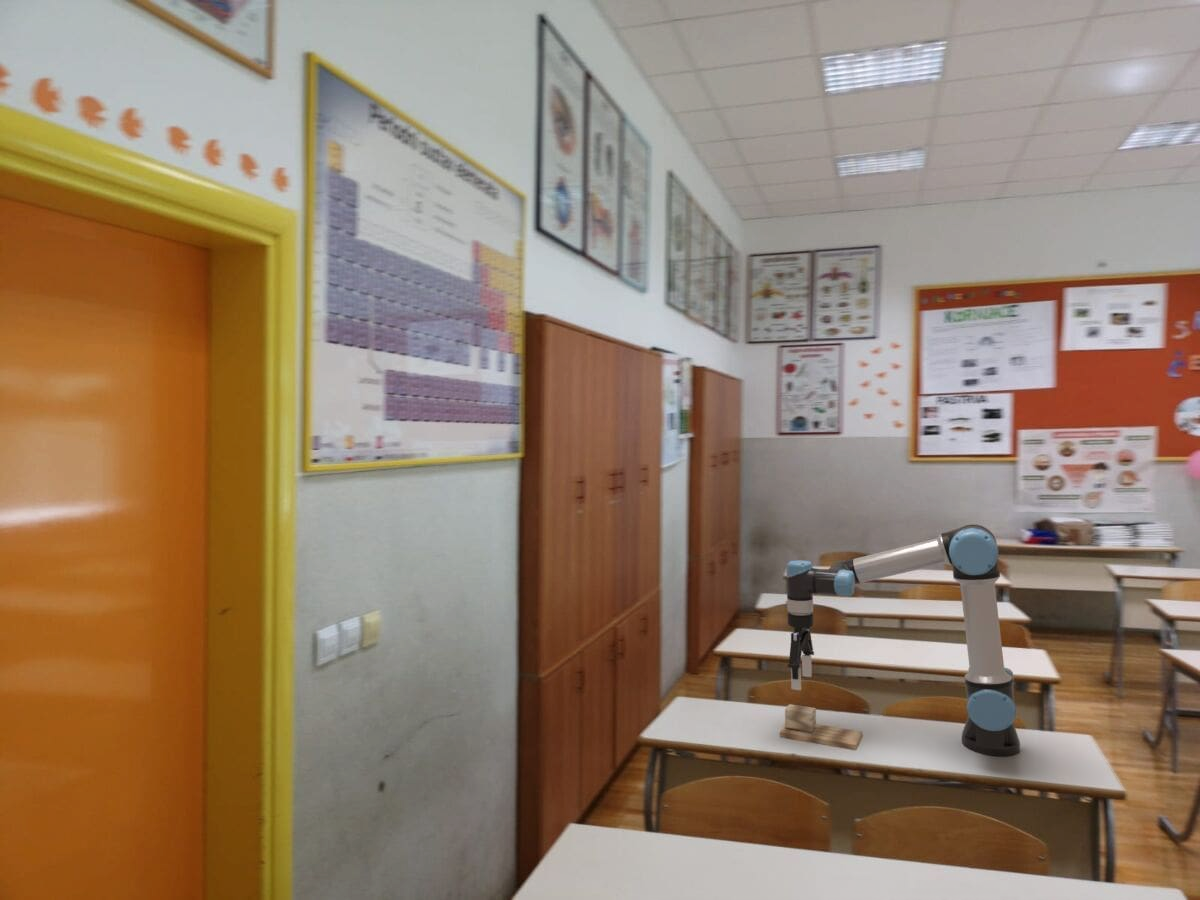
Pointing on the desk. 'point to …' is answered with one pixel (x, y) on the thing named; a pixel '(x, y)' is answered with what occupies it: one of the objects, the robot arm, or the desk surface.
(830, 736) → the board
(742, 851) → the desk surface
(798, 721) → the block
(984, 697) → the robot arm
